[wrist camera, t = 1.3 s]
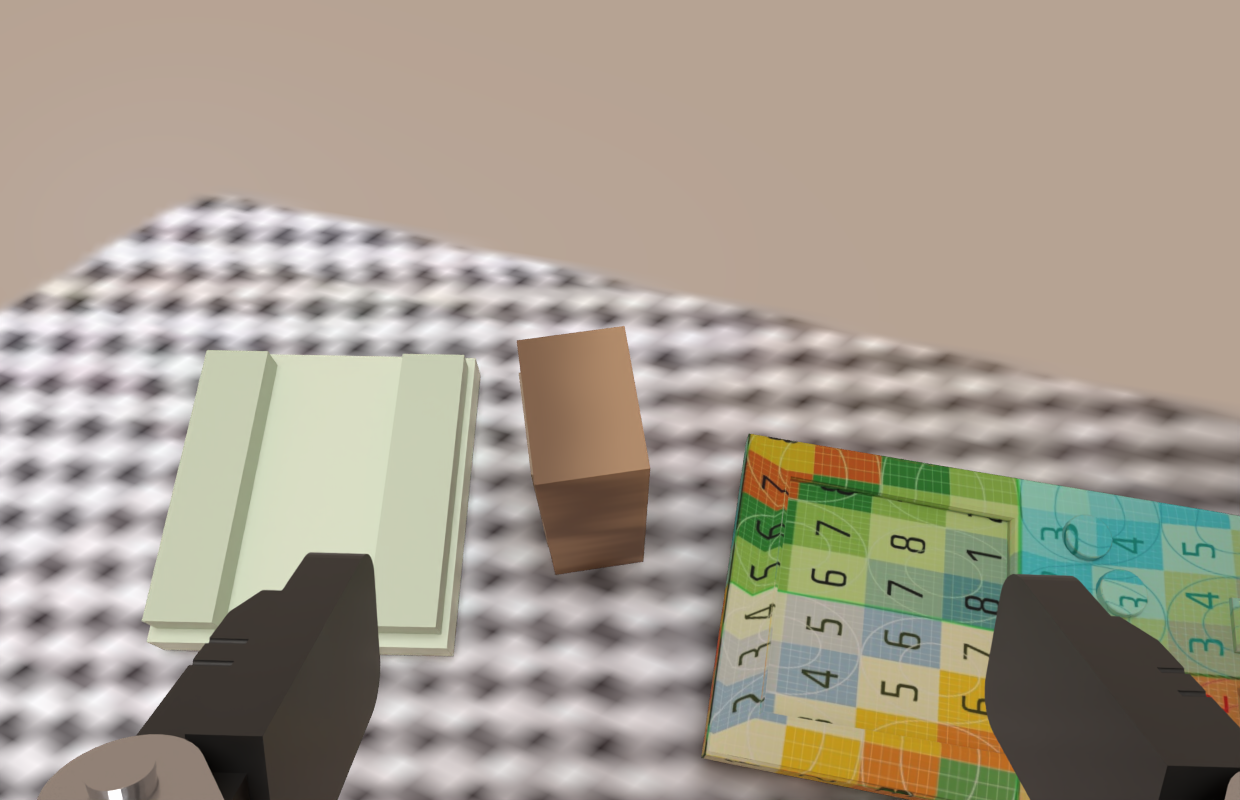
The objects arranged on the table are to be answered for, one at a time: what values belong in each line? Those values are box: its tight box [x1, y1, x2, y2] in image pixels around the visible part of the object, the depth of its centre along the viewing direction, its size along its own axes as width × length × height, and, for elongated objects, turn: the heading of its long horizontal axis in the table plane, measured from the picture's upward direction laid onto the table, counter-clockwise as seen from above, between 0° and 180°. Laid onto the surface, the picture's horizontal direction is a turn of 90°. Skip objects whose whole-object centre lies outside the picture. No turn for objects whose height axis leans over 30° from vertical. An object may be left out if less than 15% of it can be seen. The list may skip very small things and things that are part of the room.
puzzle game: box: [701, 434, 1240, 800], centre depth 34 cm, size 12×5×20 cm
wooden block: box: [517, 326, 650, 575], centre depth 34 cm, size 4×5×10 cm
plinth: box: [142, 350, 480, 656], centre depth 37 cm, size 11×12×3 cm
